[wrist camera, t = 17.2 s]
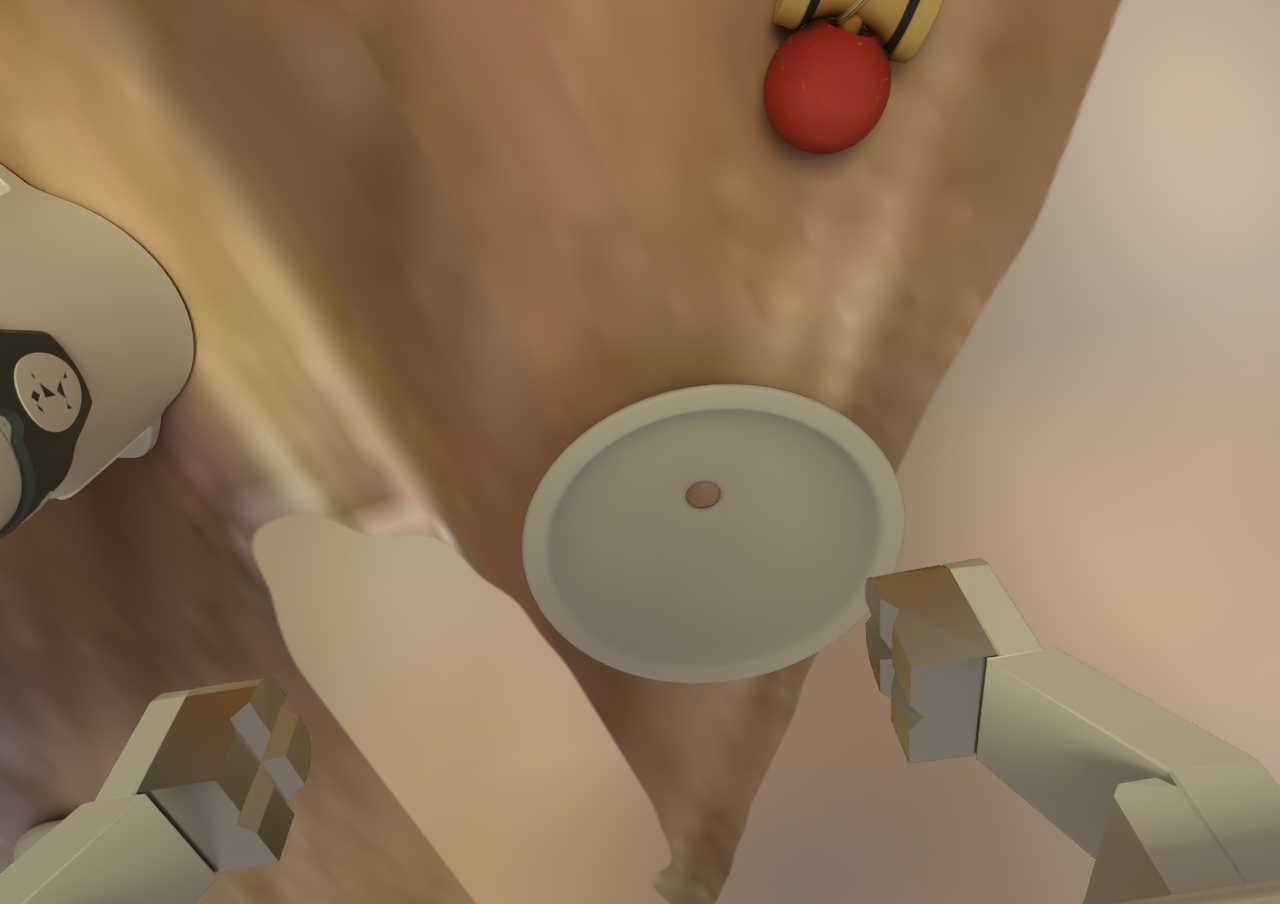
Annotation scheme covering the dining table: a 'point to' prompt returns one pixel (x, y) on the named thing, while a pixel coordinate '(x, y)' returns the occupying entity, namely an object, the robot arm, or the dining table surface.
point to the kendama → (839, 66)
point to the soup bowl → (712, 533)
